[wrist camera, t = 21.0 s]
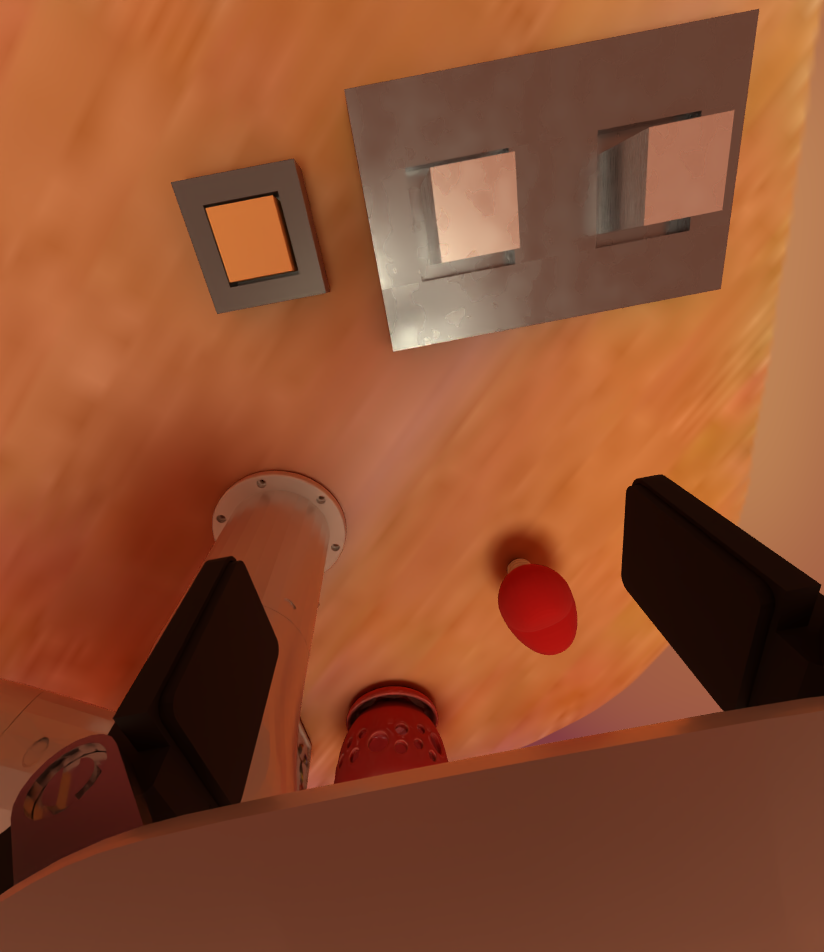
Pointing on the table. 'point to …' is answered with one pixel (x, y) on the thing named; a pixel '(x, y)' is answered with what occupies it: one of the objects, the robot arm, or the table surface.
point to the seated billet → (471, 208)
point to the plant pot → (389, 734)
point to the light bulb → (538, 607)
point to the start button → (252, 238)
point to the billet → (665, 173)
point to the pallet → (546, 177)
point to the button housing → (292, 194)
